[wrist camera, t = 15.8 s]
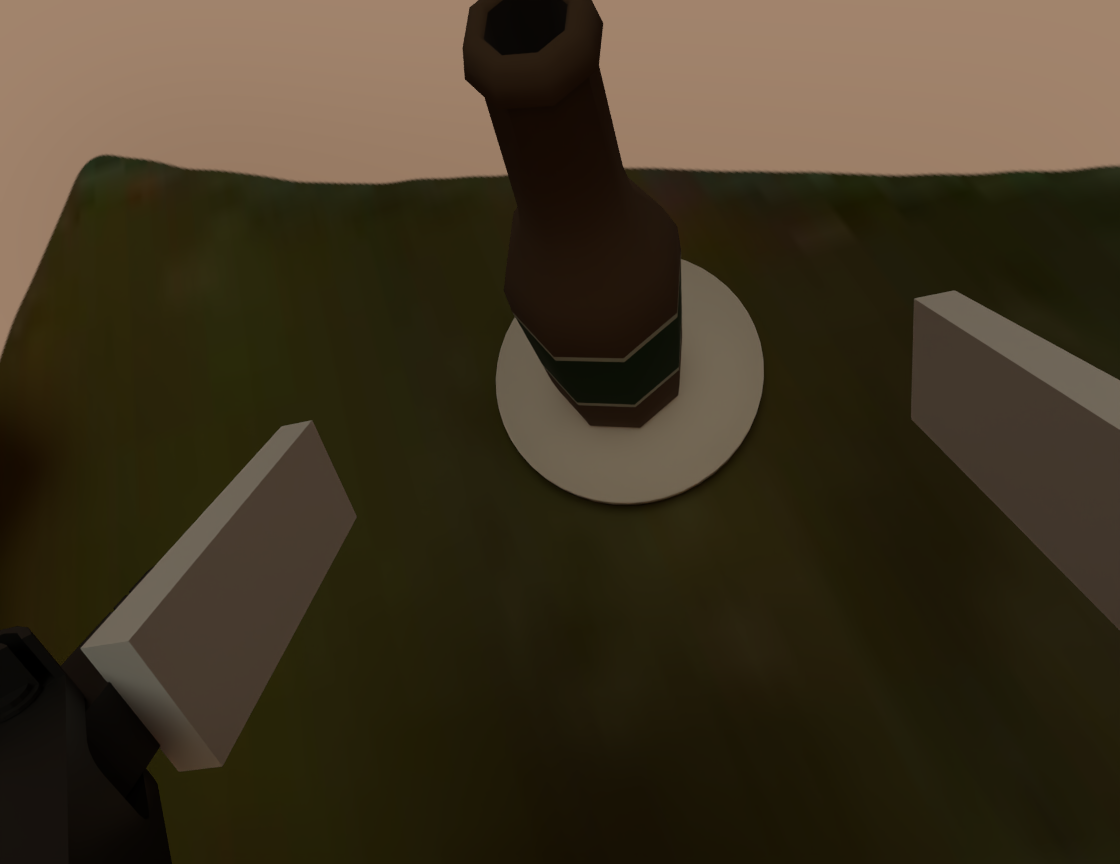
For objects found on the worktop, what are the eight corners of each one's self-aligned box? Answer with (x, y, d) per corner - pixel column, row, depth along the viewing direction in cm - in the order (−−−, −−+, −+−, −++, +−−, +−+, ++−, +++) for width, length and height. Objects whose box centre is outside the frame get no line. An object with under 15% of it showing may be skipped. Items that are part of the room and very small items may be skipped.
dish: (458, 372, 43) (447, 360, 41) (644, 224, 43) (642, 206, 41) (608, 563, 37) (604, 560, 35) (818, 392, 38) (825, 380, 36)
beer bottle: (534, 403, 39) (319, 99, 16) (592, 295, 40) (470, -125, 17) (650, 456, 36) (590, 191, 14) (708, 341, 38) (741, -75, 15)
